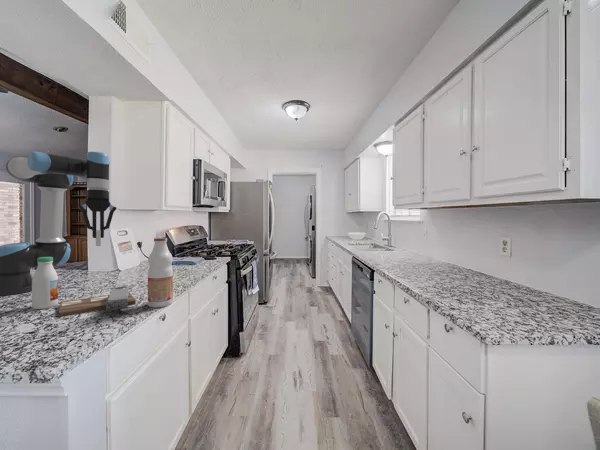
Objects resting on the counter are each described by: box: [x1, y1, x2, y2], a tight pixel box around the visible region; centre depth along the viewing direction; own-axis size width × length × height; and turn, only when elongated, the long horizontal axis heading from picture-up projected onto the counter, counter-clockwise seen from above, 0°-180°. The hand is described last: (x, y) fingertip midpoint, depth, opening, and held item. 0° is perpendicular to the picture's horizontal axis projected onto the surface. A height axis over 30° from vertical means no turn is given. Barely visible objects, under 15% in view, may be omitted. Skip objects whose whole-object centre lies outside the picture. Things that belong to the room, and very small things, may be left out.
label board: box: [58, 292, 137, 318], centre depth 112 cm, size 16×24×2 cm, turn 130°
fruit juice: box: [147, 237, 174, 309], centre depth 113 cm, size 9×9×28 cm
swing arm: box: [105, 286, 130, 312], centre depth 110 cm, size 24×7×3 cm, turn 31°
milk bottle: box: [31, 257, 59, 310], centre depth 108 cm, size 8×8×20 cm
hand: (98, 245), depth 114 cm, fingers closed
